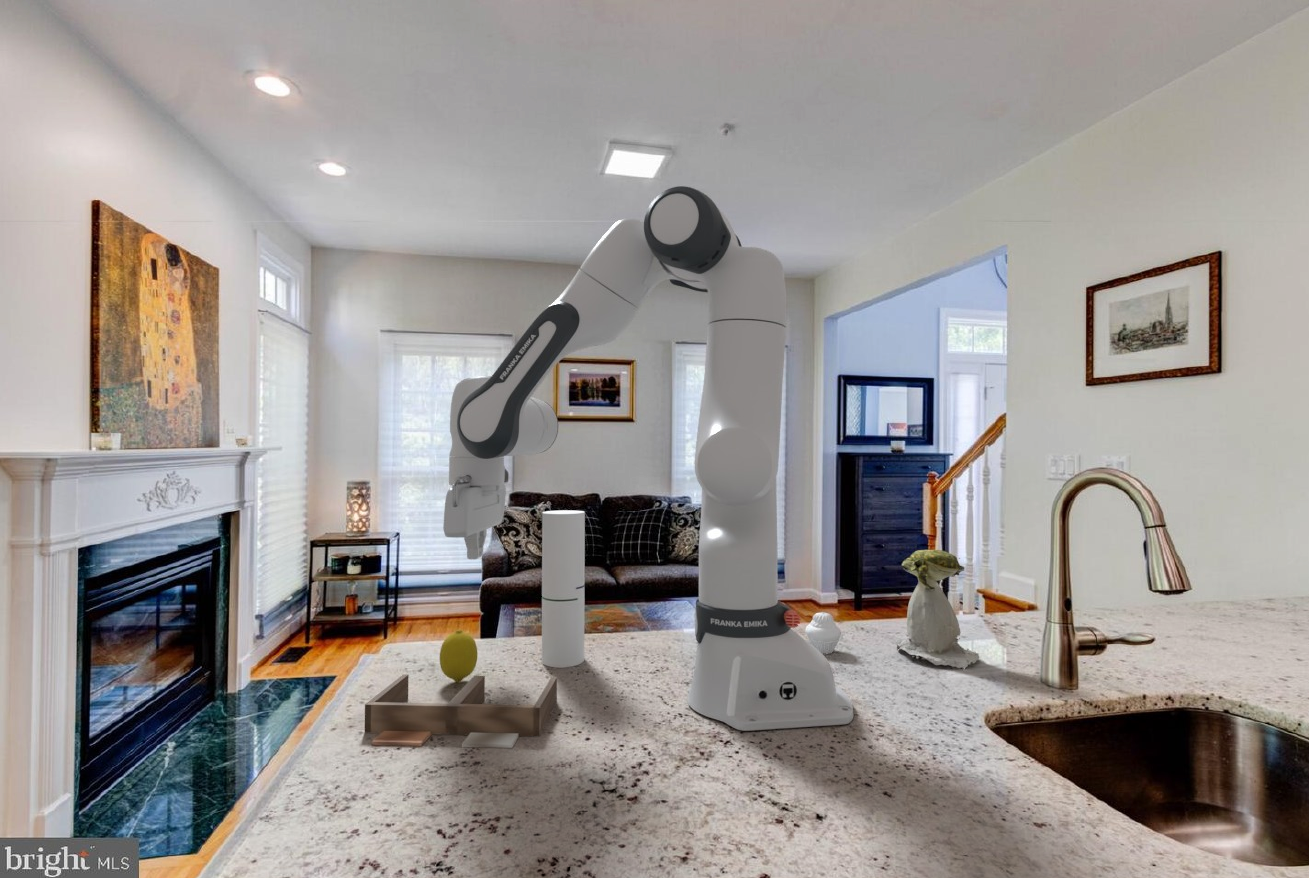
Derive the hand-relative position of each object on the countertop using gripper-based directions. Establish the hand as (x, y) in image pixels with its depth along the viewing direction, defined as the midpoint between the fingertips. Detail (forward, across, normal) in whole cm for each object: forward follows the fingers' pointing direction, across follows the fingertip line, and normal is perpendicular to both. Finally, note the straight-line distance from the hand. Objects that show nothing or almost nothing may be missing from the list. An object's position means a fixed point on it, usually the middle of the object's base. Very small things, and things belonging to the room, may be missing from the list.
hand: (475, 557), depth 106 cm
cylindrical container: (+18, +3, -14) cm, 23 cm away
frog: (+17, +8, -78) cm, 81 cm away
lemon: (+18, -8, 0) cm, 20 cm away
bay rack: (+17, -22, -6) cm, 29 cm away
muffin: (+17, +10, -59) cm, 63 cm away
